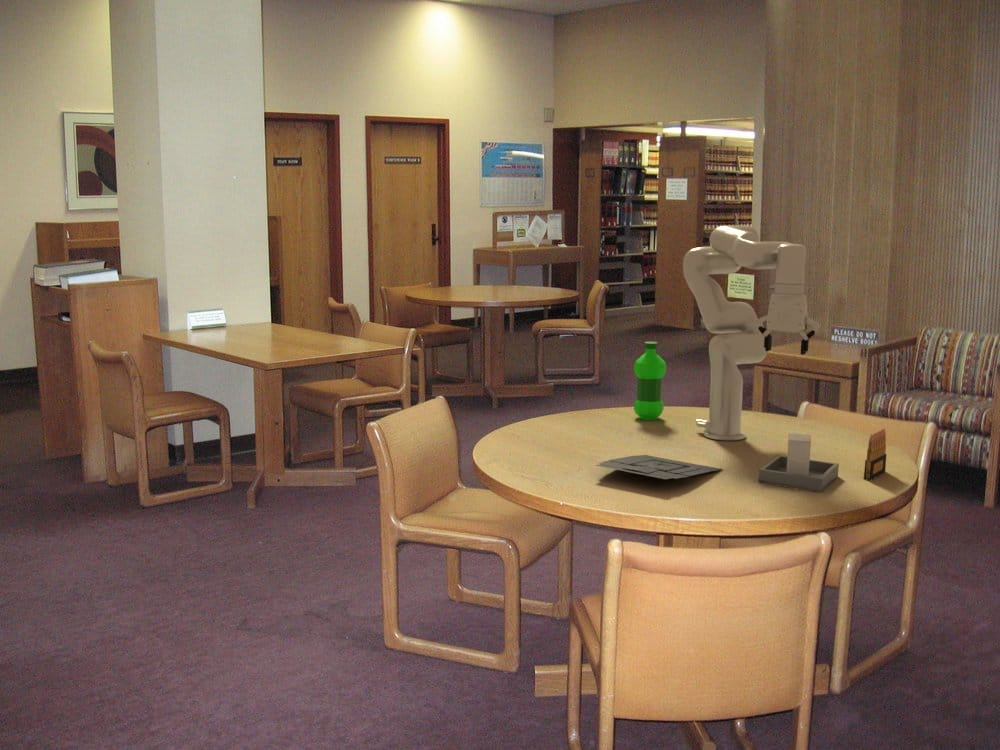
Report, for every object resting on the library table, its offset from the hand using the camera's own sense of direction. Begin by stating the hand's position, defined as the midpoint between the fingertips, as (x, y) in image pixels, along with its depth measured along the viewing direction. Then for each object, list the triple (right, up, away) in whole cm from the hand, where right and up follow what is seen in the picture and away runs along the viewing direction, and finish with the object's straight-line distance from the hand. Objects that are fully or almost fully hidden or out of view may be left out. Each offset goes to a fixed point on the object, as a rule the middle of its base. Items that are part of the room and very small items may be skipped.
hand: (785, 352), depth 284 cm
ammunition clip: (+21, -33, -9) cm, 40 cm away
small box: (-1, -33, -14) cm, 35 cm away
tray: (0, -33, -14) cm, 36 cm away
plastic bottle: (-30, -21, +55) cm, 66 cm away
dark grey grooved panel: (-37, -33, -10) cm, 50 cm away
